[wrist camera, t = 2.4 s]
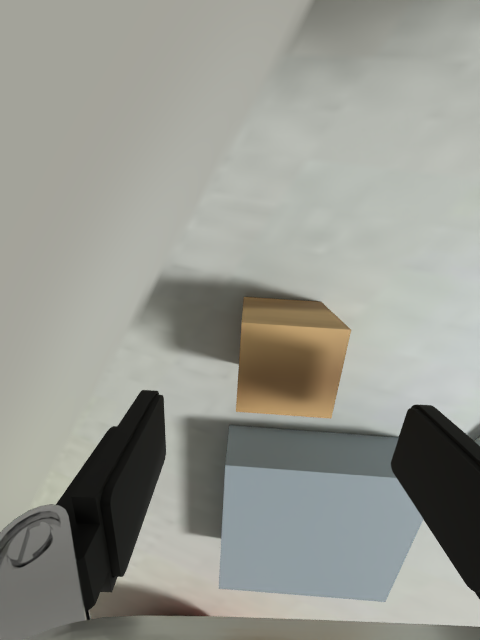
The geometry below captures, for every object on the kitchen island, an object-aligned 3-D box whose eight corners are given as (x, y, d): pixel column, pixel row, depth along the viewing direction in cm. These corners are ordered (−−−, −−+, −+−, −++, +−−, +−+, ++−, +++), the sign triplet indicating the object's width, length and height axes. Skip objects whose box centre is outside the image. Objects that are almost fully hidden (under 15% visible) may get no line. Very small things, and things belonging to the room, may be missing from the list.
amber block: (243, 296, 16) (241, 322, 11) (320, 301, 16) (350, 329, 11) (239, 364, 18) (236, 411, 13) (309, 368, 17) (331, 418, 13)
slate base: (229, 421, 20) (225, 465, 16) (403, 433, 20) (440, 481, 16) (223, 533, 24) (218, 588, 21) (363, 544, 24) (385, 601, 20)
